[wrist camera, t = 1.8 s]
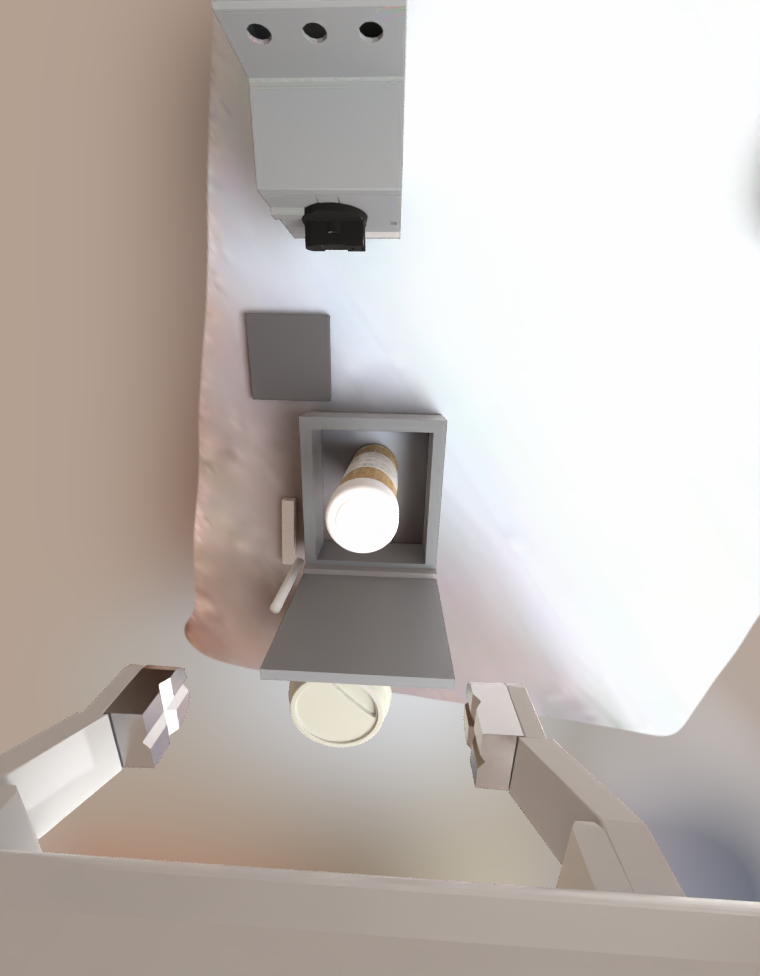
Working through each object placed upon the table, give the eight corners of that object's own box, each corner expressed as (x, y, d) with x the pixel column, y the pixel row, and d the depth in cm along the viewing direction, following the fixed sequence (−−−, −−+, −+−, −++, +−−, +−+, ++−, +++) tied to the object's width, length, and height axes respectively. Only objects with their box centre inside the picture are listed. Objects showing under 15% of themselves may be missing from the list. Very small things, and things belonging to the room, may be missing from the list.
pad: (248, 314, 31) (245, 313, 31) (329, 316, 31) (328, 314, 30) (255, 398, 33) (252, 399, 33) (331, 400, 33) (330, 401, 33)
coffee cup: (399, 641, 41) (400, 746, 30) (326, 652, 42) (299, 758, 31) (383, 575, 39) (377, 662, 27) (306, 588, 39) (268, 678, 28)
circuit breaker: (308, 277, 30) (228, 196, 16) (299, 49, 26) (179, -344, 12) (399, 278, 30) (400, 196, 16) (406, 48, 26) (416, -357, 11)
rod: (285, 496, 37) (281, 500, 36) (297, 497, 37) (293, 501, 36) (285, 558, 39) (282, 564, 38) (296, 559, 39) (293, 565, 38)
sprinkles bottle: (371, 498, 36) (357, 569, 23) (340, 462, 35) (307, 516, 22) (408, 469, 35) (414, 527, 22) (377, 432, 34) (365, 470, 21)
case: (299, 410, 34) (217, 445, 18) (441, 414, 33) (478, 453, 18) (305, 555, 38) (245, 678, 23) (431, 560, 38) (454, 689, 22)
